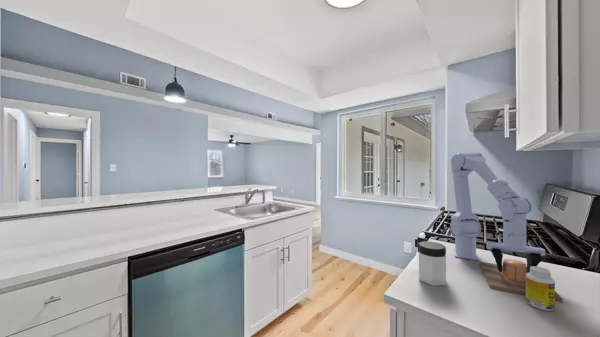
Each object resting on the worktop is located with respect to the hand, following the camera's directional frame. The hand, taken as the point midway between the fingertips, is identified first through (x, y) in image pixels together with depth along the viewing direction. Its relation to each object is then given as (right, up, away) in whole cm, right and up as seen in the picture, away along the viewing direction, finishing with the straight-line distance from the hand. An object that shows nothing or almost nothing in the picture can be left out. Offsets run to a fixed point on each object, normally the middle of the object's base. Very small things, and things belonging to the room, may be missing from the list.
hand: (514, 273), depth 78 cm
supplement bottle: (-6, -3, -14) cm, 15 cm away
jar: (-27, -3, +1) cm, 27 cm away
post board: (0, -2, 0) cm, 2 cm away
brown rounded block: (0, -1, 0) cm, 1 cm away
